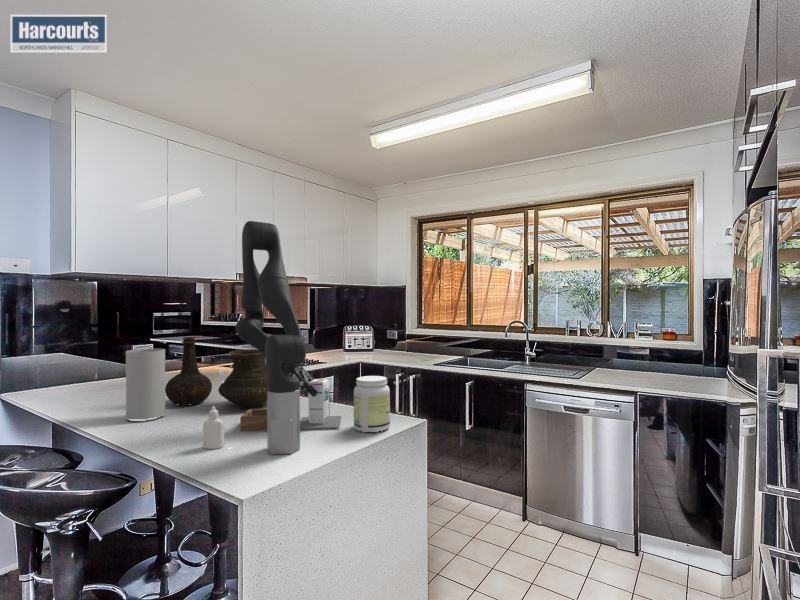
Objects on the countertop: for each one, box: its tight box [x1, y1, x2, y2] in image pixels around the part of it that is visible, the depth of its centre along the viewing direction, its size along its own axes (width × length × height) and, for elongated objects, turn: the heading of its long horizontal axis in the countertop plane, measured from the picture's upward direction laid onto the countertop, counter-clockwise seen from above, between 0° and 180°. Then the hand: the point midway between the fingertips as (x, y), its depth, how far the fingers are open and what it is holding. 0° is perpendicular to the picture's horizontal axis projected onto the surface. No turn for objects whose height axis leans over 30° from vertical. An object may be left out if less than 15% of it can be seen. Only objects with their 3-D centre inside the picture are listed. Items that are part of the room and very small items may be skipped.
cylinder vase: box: [125, 348, 166, 419], centre depth 160 cm, size 12×12×25 cm
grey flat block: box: [300, 415, 342, 431], centre depth 151 cm, size 14×14×1 cm
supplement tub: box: [353, 375, 391, 433], centre depth 145 cm, size 12×12×17 cm
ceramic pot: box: [218, 348, 267, 409], centre depth 178 cm, size 24×24×22 cm
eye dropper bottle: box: [202, 406, 225, 450], centre depth 127 cm, size 4×6×12 cm
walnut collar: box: [239, 408, 267, 432], centre depth 149 cm, size 11×11×4 cm
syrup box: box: [307, 378, 331, 424], centre depth 151 cm, size 6×6×14 cm
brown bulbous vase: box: [165, 336, 213, 406], centre depth 182 cm, size 18×18×28 cm
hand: (317, 392), depth 151 cm, fingers open, 8 cm apart
